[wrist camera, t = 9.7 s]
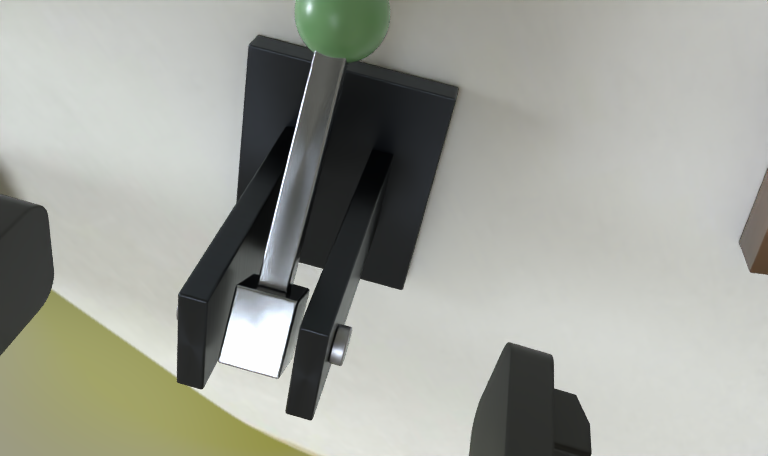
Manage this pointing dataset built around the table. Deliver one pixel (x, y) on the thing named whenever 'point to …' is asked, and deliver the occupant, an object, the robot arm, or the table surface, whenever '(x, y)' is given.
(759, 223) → the button block
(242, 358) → the switch lever
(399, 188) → the switch bracket
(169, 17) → the table surface
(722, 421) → the table surface
